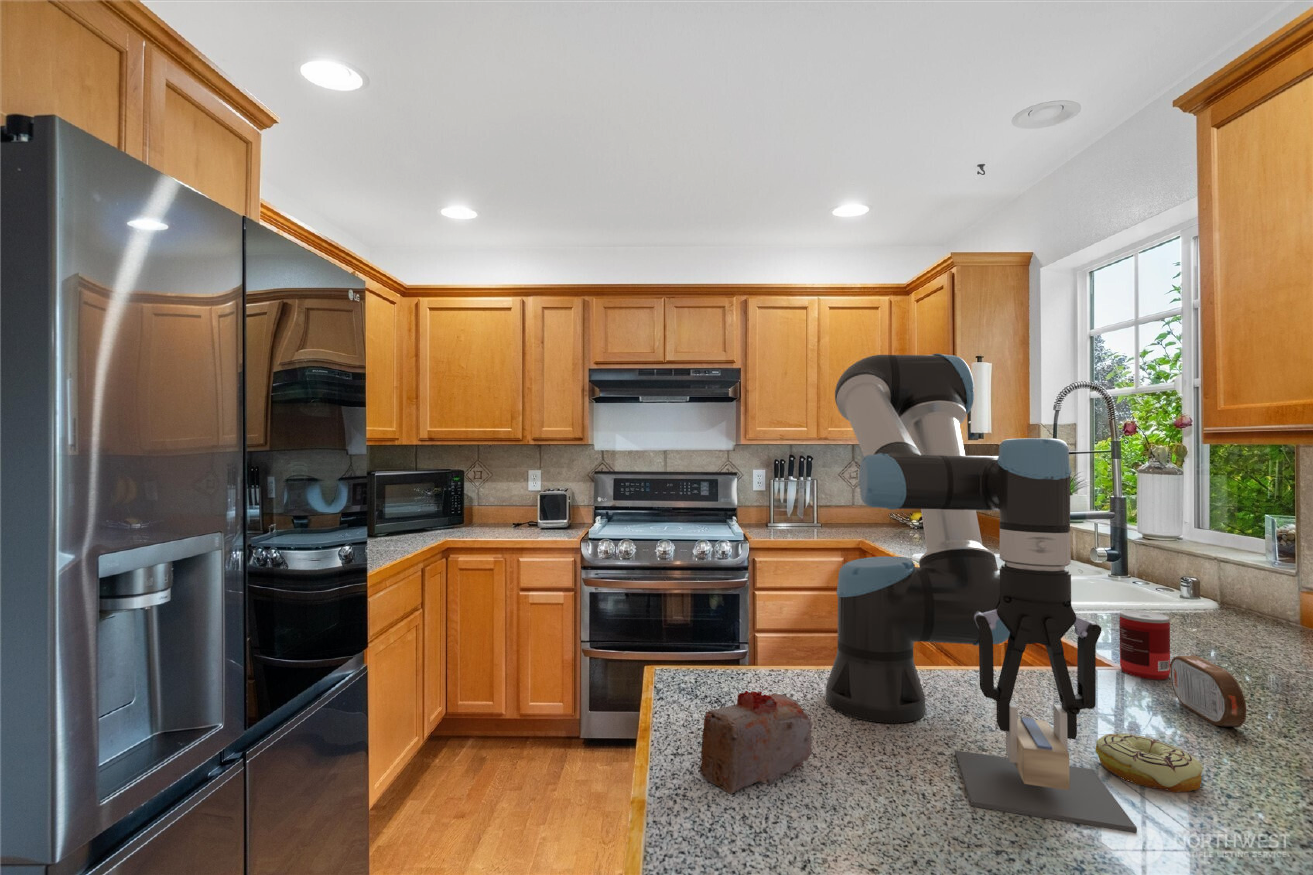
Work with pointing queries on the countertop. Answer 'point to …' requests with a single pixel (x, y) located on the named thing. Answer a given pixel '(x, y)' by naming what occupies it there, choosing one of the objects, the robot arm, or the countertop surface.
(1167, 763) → the decorated donut
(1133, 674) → the canned food
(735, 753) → the food item
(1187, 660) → the tin
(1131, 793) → the countertop surface
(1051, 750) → the card box
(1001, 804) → the mat
